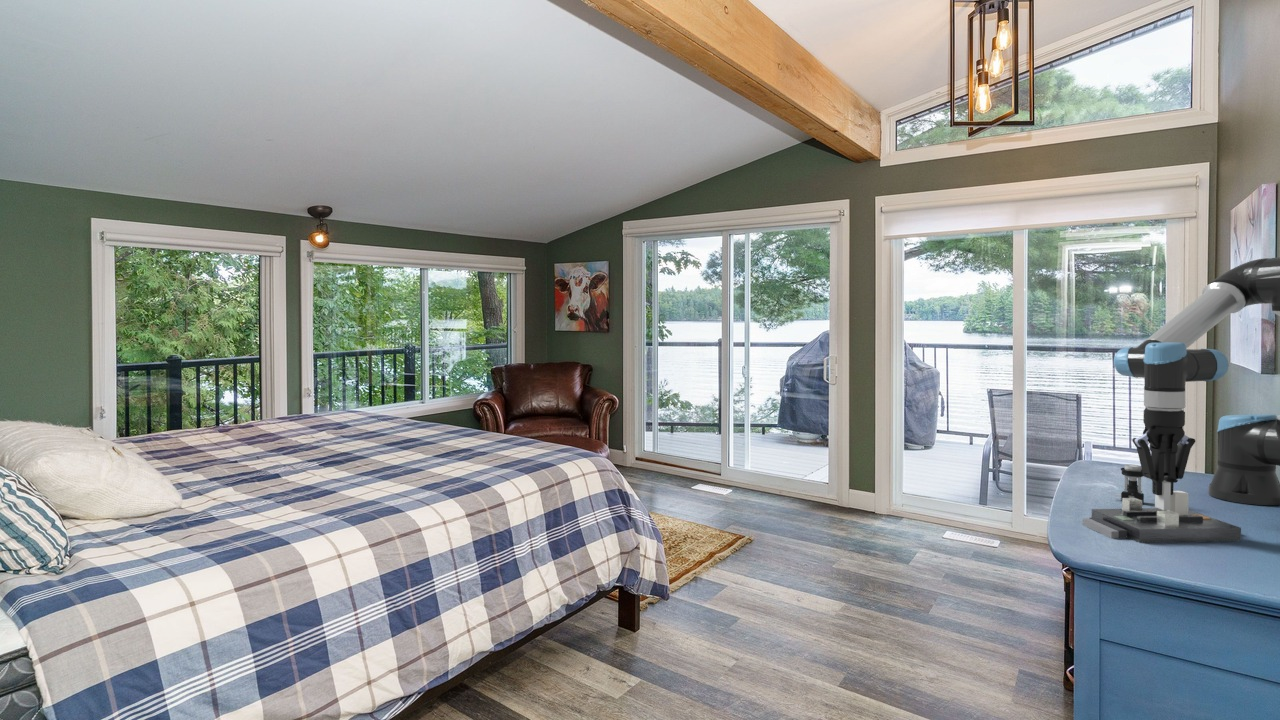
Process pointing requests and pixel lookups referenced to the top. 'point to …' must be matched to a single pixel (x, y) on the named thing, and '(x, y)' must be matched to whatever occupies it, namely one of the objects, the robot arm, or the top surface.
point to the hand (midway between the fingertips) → (1162, 508)
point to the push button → (1132, 482)
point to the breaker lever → (1179, 502)
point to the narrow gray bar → (1105, 528)
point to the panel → (1171, 532)
